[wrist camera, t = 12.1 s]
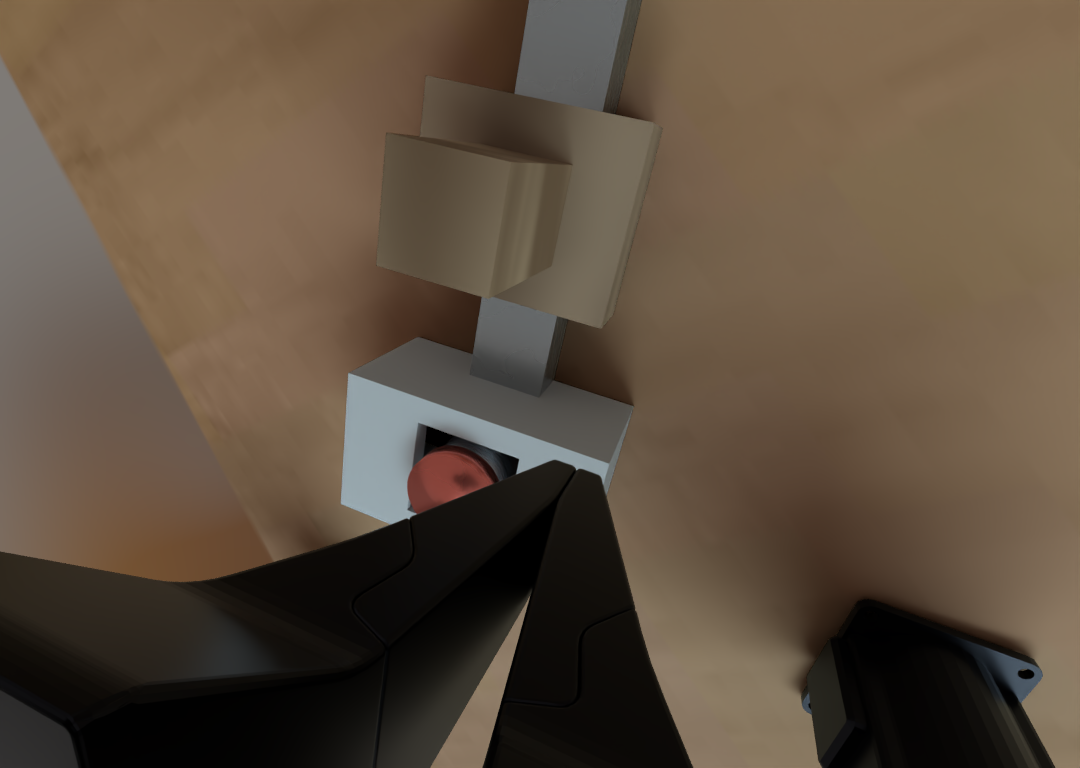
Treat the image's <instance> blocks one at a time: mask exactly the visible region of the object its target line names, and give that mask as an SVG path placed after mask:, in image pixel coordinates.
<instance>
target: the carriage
mask: <svg viewBox="0 0 1080 768" xmlns="http://www.w3.org/2000/svg"><path fill="white" fill-rule="evenodd" d="M662 130H663V128H662V127H661V126H659V125H657V124H656V123H653V122H648V121H644V120H639V119H634V118H629V117H624V116H620V115H615V114H610V113H605V112H600V111H595V110H591V109H586V108H581V107H576V106H571V105H567V104H562V103H557V102H552V101H547V100H542V99H538V98H533V97H528V96H523V95H518V94H514V93H509V92H504V91H499V90H494V89H489V88H485V87H480V86H475V85H470V84H465V83H461V82H456V81H451V80H446V79H441V78H436V77H432V76H427V75H426V79H425V89H424V100H423V110H422V120H421V130H420V136H411V135H403V134H394V133H386V141H385V154H384V168H383V181H382V195H381V208H380V221H379V235H378V248H377V262H376V266H379V267H382V268H386V269H389V270H392V271H396V272H399V273H403V274H406V275H409V276H413V277H416V278H419V279H423V280H426V281H430V282H433V283H436V284H440V285H443V286H446V287H450V288H453V289H457V290H460V291H463V292H467V293H470V294H473V295H477V296H480V297H483V298H487V299H489V298H491V297H495V298H498V299H501V300H505V301H508V302H511V303H515V304H518V305H522V306H525V307H528V308H532V309H535V310H539V311H542V312H545V313H549V314H552V315H555V316H559V317H562V318H566V319H569V320H572V321H576V322H579V323H583V324H586V325H589V326H593V327H596V328H600V329H601V328H602V327H603V326H604V325H605V324H606V323H607V321H608V320H609V319H610V318H611V317H612V315H613V314H614V310H615V306H616V303H617V299H618V295H619V291H620V288H621V284H622V280H623V276H624V273H625V269H626V265H627V261H628V258H629V254H630V250H631V246H632V243H633V239H634V235H635V231H636V228H637V224H638V220H639V216H640V213H641V209H642V205H643V201H644V198H645V194H646V190H647V186H648V183H649V179H650V175H651V171H652V168H653V164H654V160H655V156H656V153H657V149H658V145H659V141H660V138H661V134H662Z"/></svg>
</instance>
